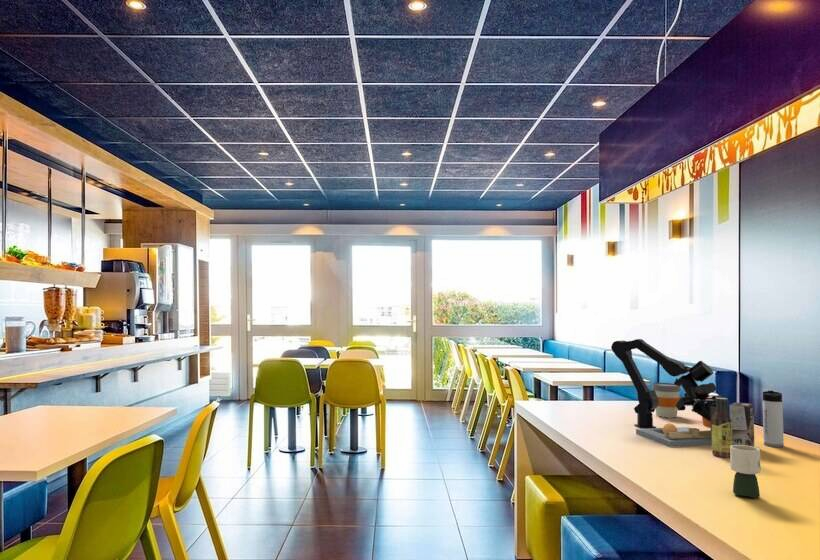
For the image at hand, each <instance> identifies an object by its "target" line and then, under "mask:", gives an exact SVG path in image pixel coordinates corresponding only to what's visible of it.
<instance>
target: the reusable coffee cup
mask: <svg viewBox="0 0 820 560" xmlns="http://www.w3.org/2000/svg"><path fill="white" fill-rule="evenodd" d="M652 390H655V392H656V395H657V397H658V398H659V399H658V401H659V405H658V407H657V408H655V415H656V417H659V416H661V417H660V418H665V417H676V418H678V411H679V410H678V409H677V407H676V403H677V402H678V401H679V399H680V398H681V396H680V394H681V390H682V389H681V386H677V385H675V384H674V382H673V383H671V382H653V383H652V384H651V391H652Z"/></svg>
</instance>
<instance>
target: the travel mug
mask: <svg viewBox="0 0 820 560" xmlns="http://www.w3.org/2000/svg"><path fill="white" fill-rule="evenodd" d="M783 405H784V404H783V393H782V392H779V391H775V390H767V391H766V390H765V391H763V392H762V424H763V426H762V427H763V429H762V430H763V445H765V446H766V447H770V446H771V448H783V447H784V446H785V445H784V444H785V443H784V440H785V439H784V415H783V414H784V413H783V411H784V409H783Z"/></svg>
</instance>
